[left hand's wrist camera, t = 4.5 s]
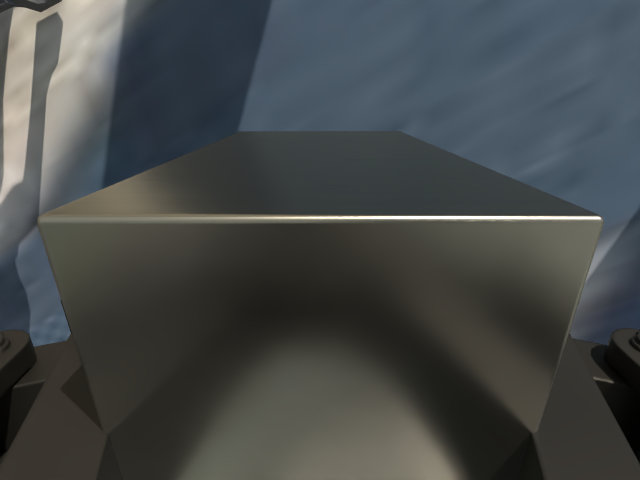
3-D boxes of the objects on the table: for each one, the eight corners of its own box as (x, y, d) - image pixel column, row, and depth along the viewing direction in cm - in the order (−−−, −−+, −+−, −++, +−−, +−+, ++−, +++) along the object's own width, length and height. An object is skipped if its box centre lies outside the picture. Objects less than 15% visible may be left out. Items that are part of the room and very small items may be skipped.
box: (238, 131, 13) (31, 216, 4) (401, 131, 13) (610, 216, 4) (269, 511, 21) (230, 836, 12) (370, 511, 21) (409, 836, 12)
